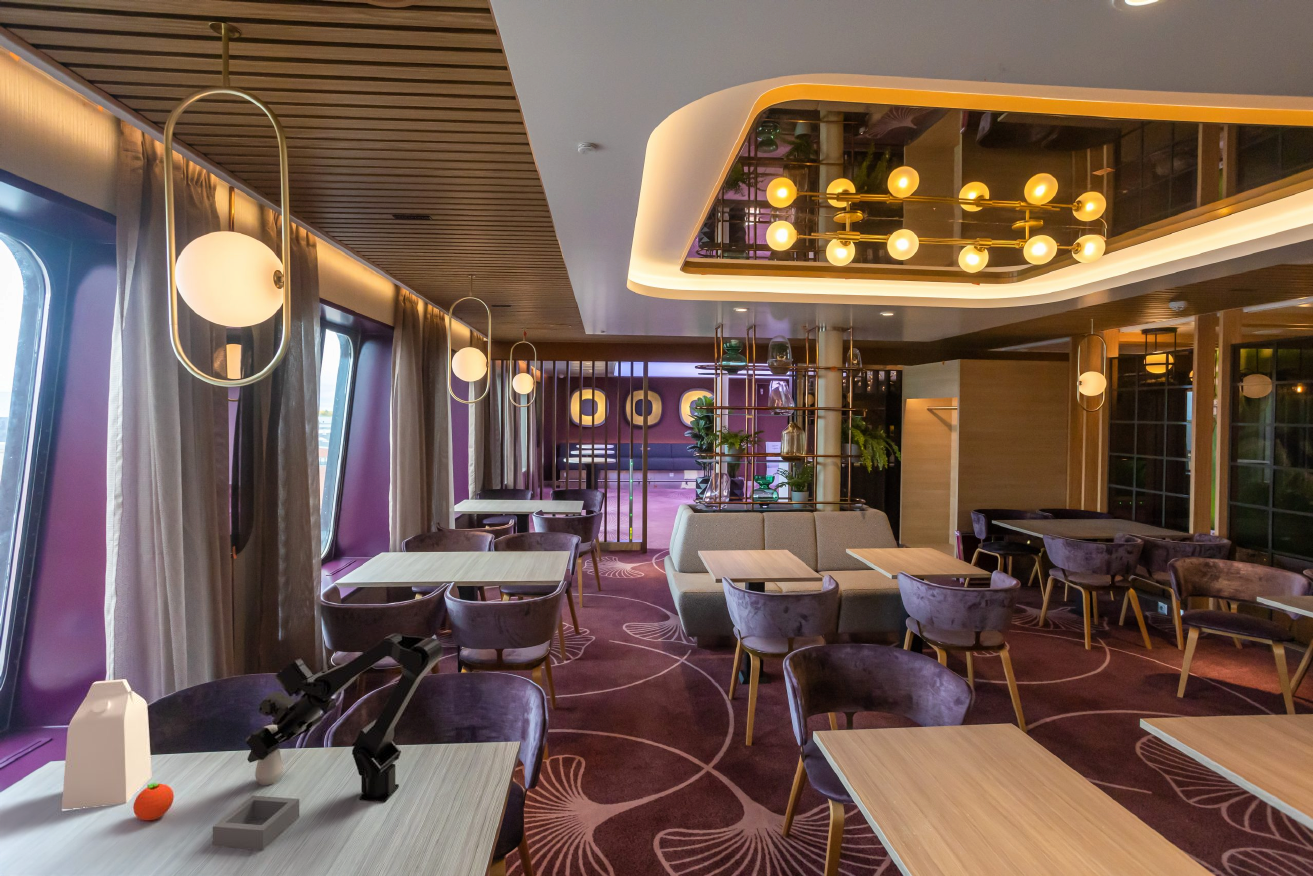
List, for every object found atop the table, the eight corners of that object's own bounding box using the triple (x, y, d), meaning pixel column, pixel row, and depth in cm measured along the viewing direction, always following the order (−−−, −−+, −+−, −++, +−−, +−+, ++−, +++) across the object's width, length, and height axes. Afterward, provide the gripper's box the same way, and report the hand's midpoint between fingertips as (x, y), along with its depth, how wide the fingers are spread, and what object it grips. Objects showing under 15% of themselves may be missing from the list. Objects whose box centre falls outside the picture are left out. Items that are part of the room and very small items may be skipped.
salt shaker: (288, 775, 155) (288, 722, 155) (272, 788, 149) (272, 733, 149) (266, 773, 155) (266, 721, 155) (249, 786, 150) (249, 732, 150)
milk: (151, 776, 154) (152, 670, 154) (126, 803, 143) (126, 688, 142) (92, 783, 150) (92, 674, 150) (61, 811, 139) (61, 694, 139)
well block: (299, 817, 138) (299, 799, 138) (263, 850, 127) (263, 830, 127) (252, 813, 139) (252, 795, 139) (212, 846, 128) (212, 826, 128)
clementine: (127, 817, 137) (127, 785, 137) (166, 802, 143) (166, 771, 143) (138, 832, 133) (138, 798, 133) (178, 816, 138) (178, 783, 138)
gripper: (311, 669, 161) (273, 709, 163) (253, 699, 142) (210, 744, 144) (339, 702, 159) (300, 742, 161) (284, 738, 141) (240, 782, 143)
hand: (264, 751), depth 152 cm, fingers open, 9 cm apart
